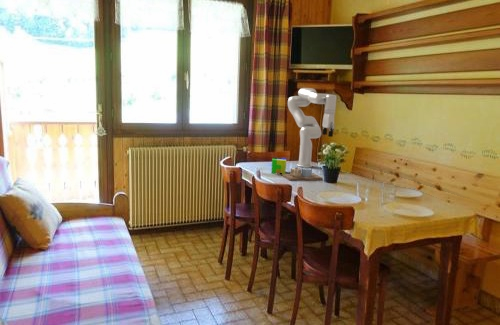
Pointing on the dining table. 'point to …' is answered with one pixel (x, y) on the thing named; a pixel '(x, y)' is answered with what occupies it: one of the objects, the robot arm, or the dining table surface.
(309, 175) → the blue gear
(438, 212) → the dining table surface
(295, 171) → the gear board
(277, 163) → the puzzle toy
